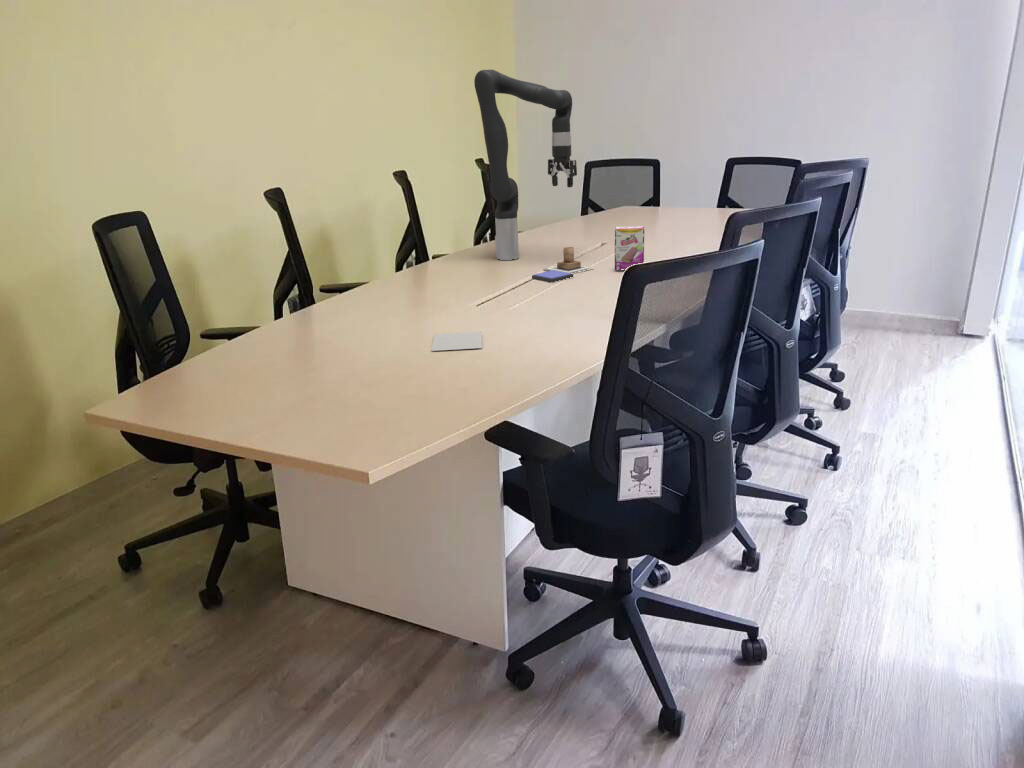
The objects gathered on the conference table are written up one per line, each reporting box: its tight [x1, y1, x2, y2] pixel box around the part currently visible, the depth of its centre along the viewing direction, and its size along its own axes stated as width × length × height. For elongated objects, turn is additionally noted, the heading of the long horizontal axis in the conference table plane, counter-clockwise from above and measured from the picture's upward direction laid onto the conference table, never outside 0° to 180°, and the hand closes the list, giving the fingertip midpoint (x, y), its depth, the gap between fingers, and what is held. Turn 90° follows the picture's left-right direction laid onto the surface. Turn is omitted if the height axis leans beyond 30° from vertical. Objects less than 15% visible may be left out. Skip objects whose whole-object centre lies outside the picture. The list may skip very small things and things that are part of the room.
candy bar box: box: [614, 225, 645, 272], centre depth 317 cm, size 11×5×16 cm, turn 84°
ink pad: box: [531, 270, 574, 283], centre depth 312 cm, size 11×11×2 cm
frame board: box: [542, 264, 591, 273], centre depth 325 cm, size 14×14×1 cm
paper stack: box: [431, 331, 483, 352], centre depth 235 cm, size 23×25×1 cm
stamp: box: [556, 246, 582, 271], centre depth 324 cm, size 6×6×8 cm
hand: (562, 186), depth 331 cm, fingers open, 8 cm apart
